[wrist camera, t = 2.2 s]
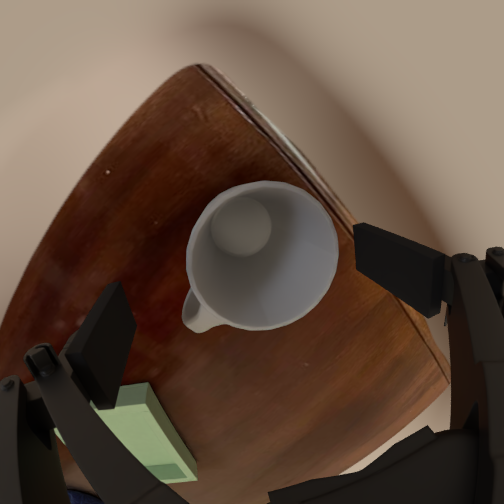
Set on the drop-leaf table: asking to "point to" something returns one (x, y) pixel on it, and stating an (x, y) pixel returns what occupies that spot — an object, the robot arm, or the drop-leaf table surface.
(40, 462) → the robot arm
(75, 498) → the planter
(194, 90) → the drop-leaf table surface
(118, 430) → the tray
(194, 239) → the cup
